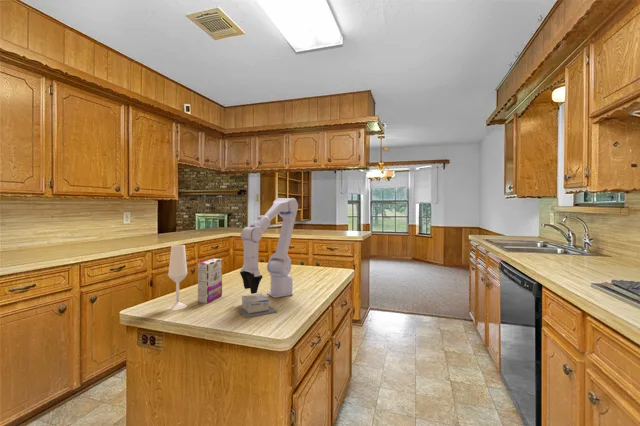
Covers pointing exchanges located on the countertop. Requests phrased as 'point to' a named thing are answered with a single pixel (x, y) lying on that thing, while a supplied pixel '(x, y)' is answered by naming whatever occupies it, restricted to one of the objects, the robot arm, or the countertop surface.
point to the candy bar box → (209, 280)
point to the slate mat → (256, 312)
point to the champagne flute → (177, 271)
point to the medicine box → (255, 303)
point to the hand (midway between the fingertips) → (250, 290)
